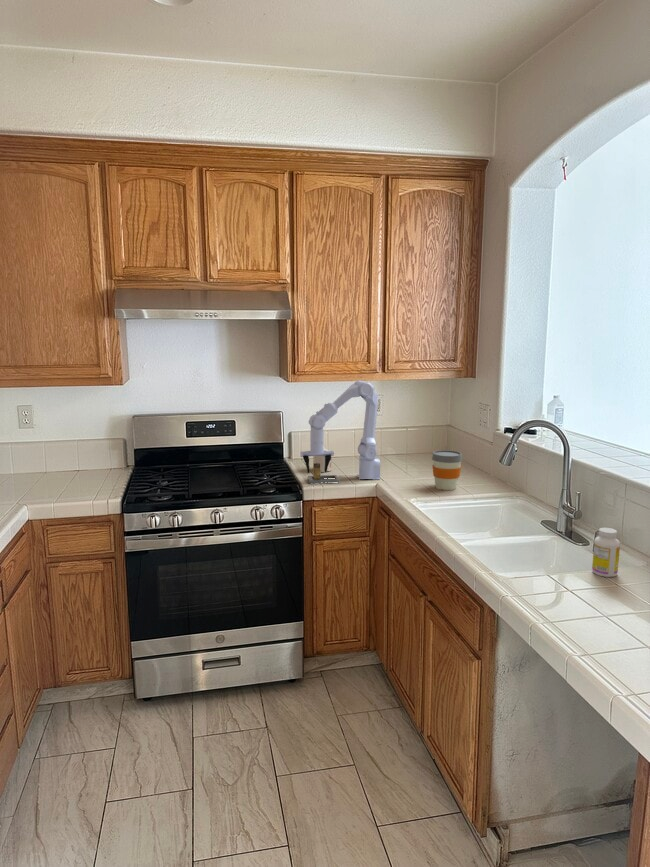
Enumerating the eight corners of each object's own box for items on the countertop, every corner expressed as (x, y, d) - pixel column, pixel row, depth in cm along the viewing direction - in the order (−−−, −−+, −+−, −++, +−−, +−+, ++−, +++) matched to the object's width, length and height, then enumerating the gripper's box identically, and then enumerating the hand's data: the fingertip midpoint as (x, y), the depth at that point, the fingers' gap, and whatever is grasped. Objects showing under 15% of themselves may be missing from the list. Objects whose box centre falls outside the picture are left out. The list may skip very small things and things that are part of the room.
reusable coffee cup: (439, 492, 256) (440, 457, 253) (426, 484, 267) (427, 450, 265) (466, 490, 259) (467, 455, 256) (452, 482, 271) (453, 449, 268)
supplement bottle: (610, 568, 178) (614, 526, 175) (621, 577, 171) (626, 534, 169) (587, 568, 177) (591, 526, 175) (598, 578, 171) (602, 534, 169)
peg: (320, 480, 273) (320, 463, 272) (320, 482, 270) (320, 464, 269) (313, 480, 273) (313, 463, 272) (313, 482, 270) (313, 464, 269)
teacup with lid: (334, 472, 289) (334, 447, 286) (316, 473, 286) (316, 449, 284) (326, 466, 300) (326, 443, 298) (308, 467, 297) (308, 444, 295)
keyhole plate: (336, 478, 277) (336, 475, 276) (338, 483, 269) (338, 479, 269) (307, 479, 275) (307, 475, 275) (309, 483, 267) (309, 480, 267)
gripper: (332, 439, 273) (332, 469, 276) (299, 440, 272) (300, 470, 274) (334, 442, 266) (334, 473, 269) (301, 443, 265) (301, 474, 267)
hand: (317, 472), depth 271 cm, fingers open, 7 cm apart
